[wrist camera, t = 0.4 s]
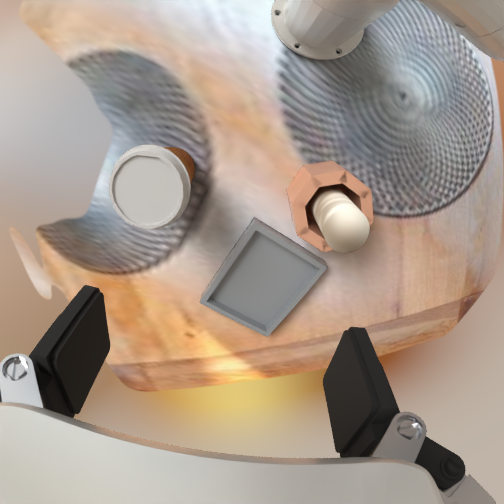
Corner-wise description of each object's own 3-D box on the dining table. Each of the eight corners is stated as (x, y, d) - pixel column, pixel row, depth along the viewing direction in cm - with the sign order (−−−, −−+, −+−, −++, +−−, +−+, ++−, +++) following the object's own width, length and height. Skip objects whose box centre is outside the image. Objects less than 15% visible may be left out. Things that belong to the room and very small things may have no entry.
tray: (254, 217, 44) (254, 222, 42) (324, 260, 47) (327, 267, 45) (201, 294, 50) (199, 302, 48) (267, 328, 53) (267, 336, 51)
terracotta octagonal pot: (315, 148, 40) (326, 155, 33) (369, 189, 42) (387, 203, 36) (274, 205, 43) (277, 223, 37) (329, 241, 46) (340, 263, 39)
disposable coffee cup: (220, 163, 41) (206, 183, 30) (180, 213, 44) (156, 248, 33) (166, 122, 38) (134, 128, 28) (130, 175, 42) (91, 199, 31)
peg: (320, 174, 40) (343, 199, 30) (348, 194, 41) (378, 225, 31) (300, 203, 42) (314, 237, 31) (327, 222, 43) (350, 260, 32)
